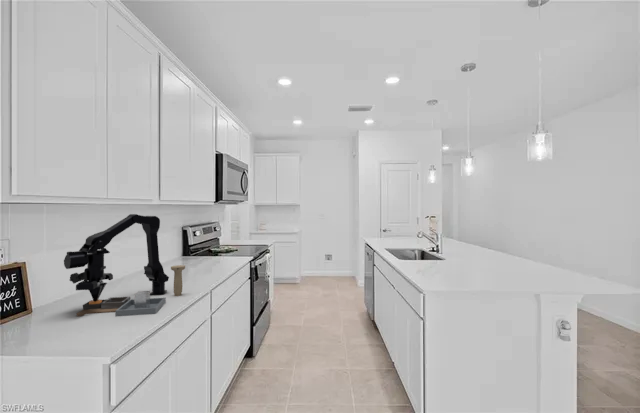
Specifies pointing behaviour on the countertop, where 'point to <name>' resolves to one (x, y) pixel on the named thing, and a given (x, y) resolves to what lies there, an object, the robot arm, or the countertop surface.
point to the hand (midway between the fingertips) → (95, 301)
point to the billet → (142, 299)
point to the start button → (95, 302)
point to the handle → (178, 279)
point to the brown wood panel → (104, 306)
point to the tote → (129, 308)
